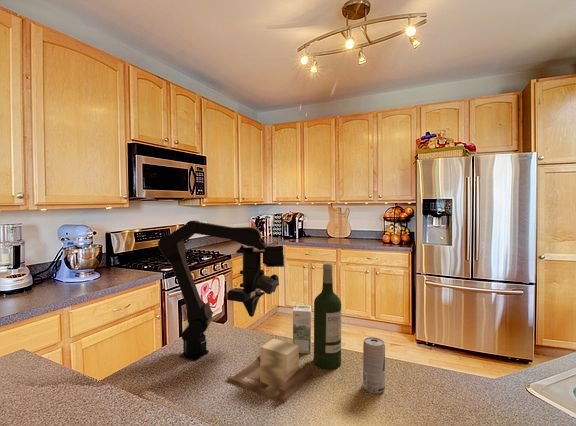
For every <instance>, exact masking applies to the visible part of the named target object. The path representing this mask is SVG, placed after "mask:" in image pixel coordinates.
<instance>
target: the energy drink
mask: <svg viewBox="0 0 576 426" xmlns="http://www.w3.org/2000/svg"><path fill="white" fill-rule="evenodd" d="M362 345H363V347H362V349H363V351H362V354H363V355H362V364H363V365H362V366H363V367H362V374H363V375H362V376H363V377H362V386H363V388H364V390H365V391H367V392H368V393H371V394H382V393H383V392H384V391H385V389H386V377H385V376H386V345H385V341H384V340H383V339H381V338H378V337H373V336H370V337H369V336H368V337H366V338H364V339H363V344H362Z"/></svg>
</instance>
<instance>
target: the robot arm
mask: <svg viewBox="0 0 576 426" xmlns="http://www.w3.org/2000/svg"><path fill="white" fill-rule="evenodd" d="M195 234H196V235H203V236H206V237H207V236H208V237H212V238H213V237H214V238H215V237H216V238H219V239H226V240H227V239H228V240H231V241H234V242H235V243H238V244H241V245H240V247H239V248H238V249H237V250H236V252H235V253H236V254H242V270H239V275H242V282H241V283H239V287H240V288H239V287H234V288H231V289H230V290H228V291H227V292H226V300H227V301H232V302H238V303H242V304H243V306H244V308H245V310H246V312H247V314H248V316H249V317H251V318H253V317H254V315H255V312H256V310H257V306H258V303H259V301H260V298H262V296H263V295H265V294H267V295H272V293H275V292H276V291H277V288H278V286H280V280H279V275H277V274H276V273H274V274H271V276H270V275H266V274H265V271H264V269H262V268H261V267H262V266H261V265H262V264H263V265H264V266H265V267H266V268H284V267H285V255H284V245H283V244H278V245H267V242H265V240H264V239H263V238H262V233H261V230H260V229H259V228H257V227H255V226H235V227H233V226H228V225H220V224H215V223H210V222H209V223H208V222H202V221H199V220H190V221H187V222H186V223H185V224H184V225H182V226H180V227H179V228H178V229H176V230H174V231H172V232H171V233H168V234H167V233H166V234H164V235H162V236H161V237H160V238H159V240H158V243H157V246H158V249H159V250H160V252H161V255H162V256H163V257H164V258H165V259H166V260H167V262H169V264H170V265H171V268H172V269H173V272H174V273H173V274H174V276H175V278H176V281H177V284H178V287H179V289H180V292H181V294H182V297H183V299H184V302H185V305H186V319H187V326H186V328H185V329H183V331H182V332H181V333H180V336H181V339H182V342H183V344H182V345H183V352H182V353H181V354H179V357H180V358H184V359H187V360H190V361H197V360H199V359H201V358H202V357H203V356H205V355H207V354H208V353H209V352H210V350H209V349H207V340H206V334H205V332H206V331H207V330H208V329H209V326H210V324H211V323H212V322H213V314H214V311H213V310H212V309H211V305H210V302H209V301H208V302H206V303H205V302H204V301H203V300H202V298H201V297H200V294H199V291H198V289H197V286H196V283H195V280H194V278H193V275H192V272H191V270H190V268H189V264H188V261H187V259H186V245H185V242H186V241H188V240H189V239H191V238H192V236H194V235H195ZM245 246H246V247H245ZM261 254H262V255H261ZM261 261H262V262H261Z"/></svg>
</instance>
